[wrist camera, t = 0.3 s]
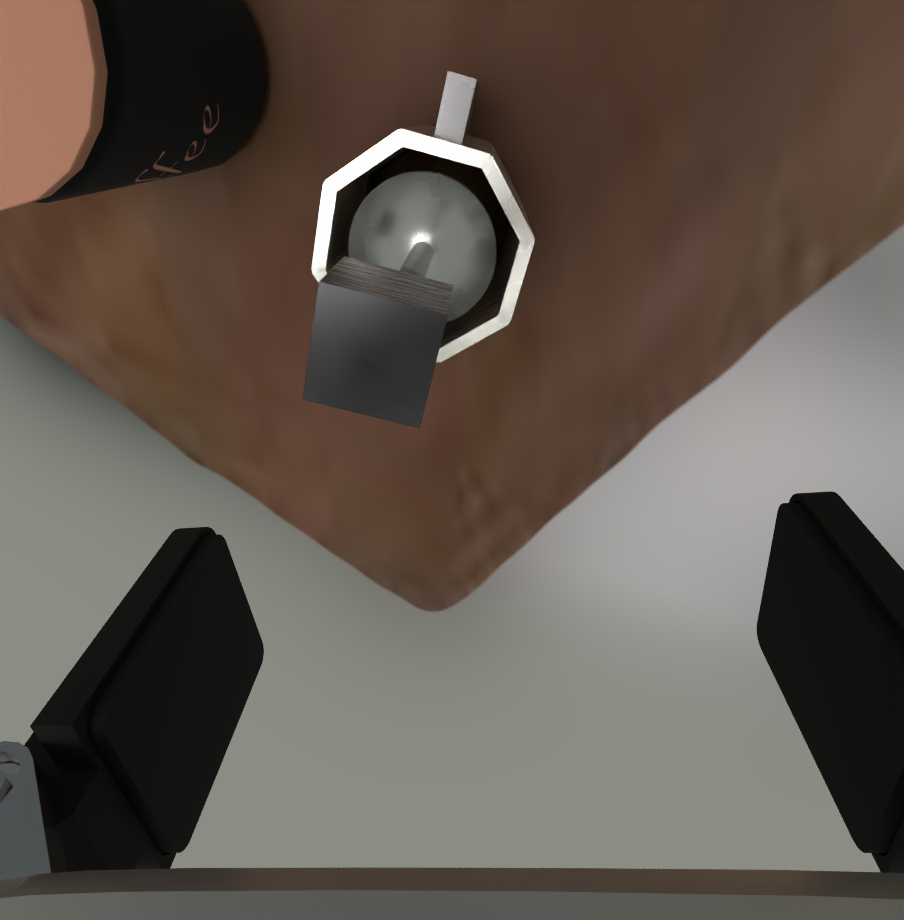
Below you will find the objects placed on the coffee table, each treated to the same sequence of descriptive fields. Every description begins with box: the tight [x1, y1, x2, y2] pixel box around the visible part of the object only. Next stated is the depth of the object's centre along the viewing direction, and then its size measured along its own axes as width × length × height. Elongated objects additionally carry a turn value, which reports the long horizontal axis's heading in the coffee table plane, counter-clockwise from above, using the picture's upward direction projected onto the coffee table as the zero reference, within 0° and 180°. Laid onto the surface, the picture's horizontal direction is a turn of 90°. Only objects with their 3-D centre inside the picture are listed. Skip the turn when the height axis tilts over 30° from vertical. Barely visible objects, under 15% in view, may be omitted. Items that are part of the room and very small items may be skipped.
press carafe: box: [311, 71, 535, 363], centre depth 32 cm, size 12×9×12 cm
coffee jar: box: [0, 0, 265, 212], centre depth 27 cm, size 11×11×18 cm
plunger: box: [302, 170, 496, 428], centre depth 22 cm, size 7×7×14 cm
